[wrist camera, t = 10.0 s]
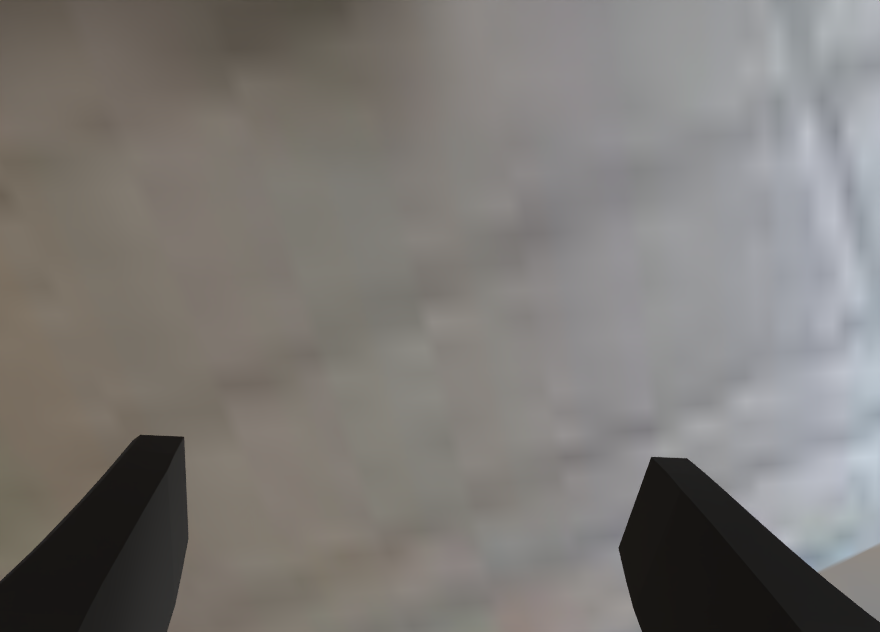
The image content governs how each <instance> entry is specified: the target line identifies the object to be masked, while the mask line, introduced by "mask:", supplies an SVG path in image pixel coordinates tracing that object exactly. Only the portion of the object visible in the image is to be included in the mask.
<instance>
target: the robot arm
mask: <svg viewBox="0 0 880 632" xmlns="http://www.w3.org/2000/svg"><path fill="white" fill-rule="evenodd" d="M187 543H188V517H187V494H186V471H185V448H184V437H177V436H154V435H140V436H138V437H137V438H136V439H134V440H133V441H132V442H131V443H130V444H129V446H128V447H127V448H126V449H125V450H124V452H123V453H122V454H121V455H120V456H119V458H118V459H117V460H116V461H115V462H114V463H113V465H112V466H111V467H110V468H109V469H108V470H107V472H106V473H105V474H104V475H103V476H102V477H101V478H100V480H99V481H98V482H97V483H96V484H95V485H94V486H93V487H92V489H91V490H90V491H89V492H88V493H87V494H86V495H85V496H84V497H83V499H82V500H81V501H80V502H79V503H78V504H77V505H76V506H75V507H74V508H73V509H72V510H71V511H70V512H69V513H68V514H67V516H66V517H65V518H64V519H63V520H62V521H61V522H60V523H59V524H58V525H57V526H56V527H55V528H54V529H53V530H52V531H51V532H50V533H49V534H48V535H47V536H46V538H45V539H44V540H43V541H42V542H41V543H40V544H39V545H38V546H37V547H36V548H35V549H34V550H33V551H32V552H31V553H30V554H29V555H27V556H26V557H25V558H24V559H23V560H22V561H21V562H20V563H19V564H18V565H17V566H16V567H15V568H14V569H13V570H12V571H11V572H10V573H9V574H7V575H6V576H5V577H4V578H3V579H2V580H1V581H0V632H167V629H168V626H169V623H170V620H171V616H172V613H173V610H174V607H175V603H176V598H177V593H178V589H179V584H180V579H181V574H182V569H183V564H184V558H185V553H186V548H187ZM619 552H620V556H621V561H622V565H623V569H624V574H625V578H626V582H627V586H628V590H629V593H630V597H631V601H632V605H633V608H634V611H635V614H636V617H637V619H638V622H639V625H640V627H641V630H642V632H880V622H879V621H877V620H876V619H875V618H873V617H872V616H871V615H869V614H868V613H867V612H866V611H864V610H863V609H862V608H861V607H859V606H858V605H857V604H856V603H854V602H853V601H852V600H851V599H849V598H848V597H847V596H845V595H844V594H843V593H842V592H841V591H839V590H838V589H837V588H836V587H834V586H833V585H832V584H831V583H829V582H828V581H827V580H826V579H825V578H823V577H822V576H821V575H820V574H819V573H817V572H816V571H815V570H814V569H813V568H811V567H810V566H809V565H808V564H807V563H806V562H804V561H803V560H802V559H801V558H800V557H799V556H797V555H796V554H795V553H794V552H793V551H792V550H790V549H789V548H788V547H787V546H786V545H785V544H784V543H783V542H781V541H780V540H779V539H778V538H777V537H776V536H775V535H773V534H772V533H771V532H770V531H769V530H768V529H767V528H766V527H764V526H763V525H762V524H761V523H760V522H759V521H758V520H757V519H756V518H754V517H753V516H752V515H751V514H750V513H749V512H748V511H747V510H746V509H744V508H743V507H742V506H741V505H740V504H739V503H738V502H737V501H736V500H734V499H733V498H732V497H731V496H730V495H729V494H728V493H727V492H726V491H724V490H723V489H722V488H721V487H720V486H719V485H718V484H717V483H715V482H714V481H713V480H712V479H711V478H710V477H709V476H708V475H706V474H705V473H704V472H703V471H702V470H701V469H699V468H698V467H697V466H696V465H694V464H693V463H692V462H691V461H690V460H688V459H687V458H664V457H651V459H650V462H649V465H648V468H647V470H646V473H645V476H644V479H643V482H642V484H641V487H640V490H639V493H638V495H637V498H636V501H635V504H634V507H633V509H632V512H631V515H630V518H629V520H628V523H627V526H626V529H625V532H624V534H623V537H622V540H621V543H620V545H619Z"/></svg>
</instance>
